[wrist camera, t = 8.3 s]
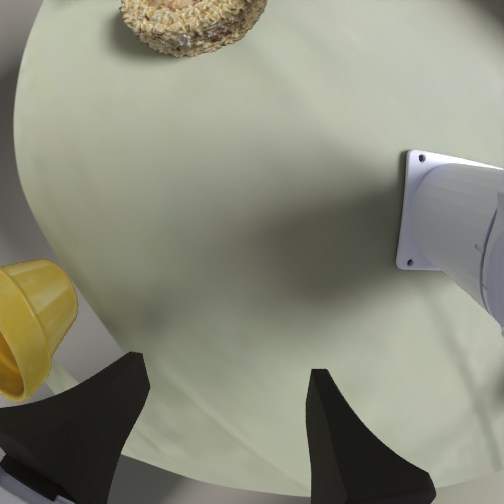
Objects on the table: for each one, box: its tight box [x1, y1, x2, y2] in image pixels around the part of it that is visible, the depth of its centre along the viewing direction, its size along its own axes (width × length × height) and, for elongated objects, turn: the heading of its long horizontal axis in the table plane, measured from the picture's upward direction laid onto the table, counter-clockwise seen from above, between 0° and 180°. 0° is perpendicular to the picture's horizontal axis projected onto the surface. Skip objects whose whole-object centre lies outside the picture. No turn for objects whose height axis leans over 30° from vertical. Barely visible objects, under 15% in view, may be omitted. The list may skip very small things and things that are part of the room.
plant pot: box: [0, 259, 78, 402], centre depth 18 cm, size 10×10×10 cm
